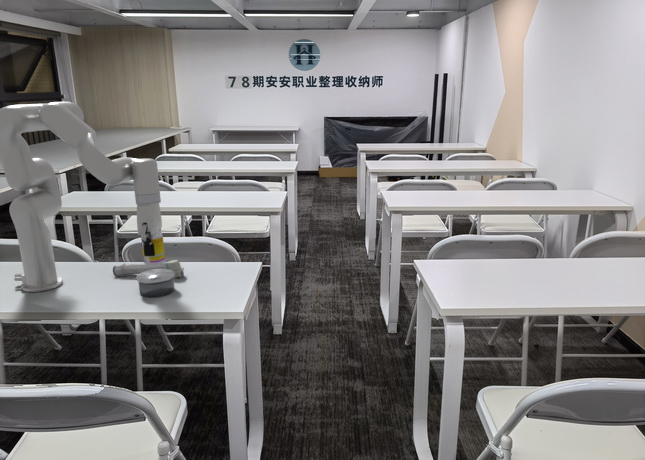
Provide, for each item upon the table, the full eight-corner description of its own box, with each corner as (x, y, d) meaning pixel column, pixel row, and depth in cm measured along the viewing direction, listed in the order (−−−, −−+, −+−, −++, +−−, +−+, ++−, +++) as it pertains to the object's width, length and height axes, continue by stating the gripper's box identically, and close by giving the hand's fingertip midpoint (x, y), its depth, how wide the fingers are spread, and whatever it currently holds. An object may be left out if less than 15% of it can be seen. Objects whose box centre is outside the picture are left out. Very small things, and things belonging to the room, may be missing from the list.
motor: (132, 298, 163) (130, 281, 162) (146, 283, 176) (144, 267, 174) (169, 298, 163) (168, 281, 161) (181, 283, 176) (179, 267, 174)
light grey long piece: (117, 262, 185) (183, 255, 182) (121, 280, 187) (187, 272, 184) (110, 267, 180) (177, 260, 177) (115, 285, 182) (182, 278, 179)
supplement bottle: (169, 260, 168) (166, 223, 164) (155, 267, 162) (151, 228, 158) (154, 258, 170) (150, 221, 167) (139, 264, 165) (135, 226, 161)
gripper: (145, 193, 169) (151, 244, 174) (125, 204, 152) (132, 261, 157) (168, 192, 169) (173, 244, 174) (150, 204, 152) (156, 261, 157)
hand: (153, 251), depth 165 cm, fingers closed on supplement bottle, 6 cm apart
